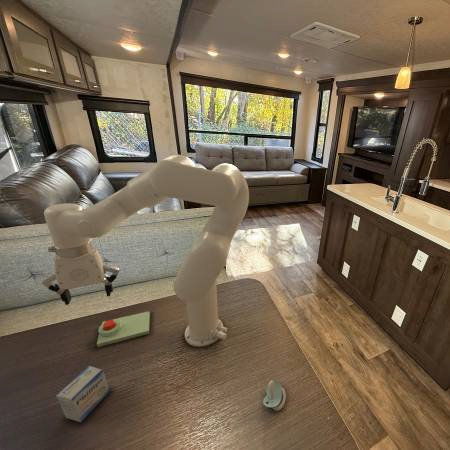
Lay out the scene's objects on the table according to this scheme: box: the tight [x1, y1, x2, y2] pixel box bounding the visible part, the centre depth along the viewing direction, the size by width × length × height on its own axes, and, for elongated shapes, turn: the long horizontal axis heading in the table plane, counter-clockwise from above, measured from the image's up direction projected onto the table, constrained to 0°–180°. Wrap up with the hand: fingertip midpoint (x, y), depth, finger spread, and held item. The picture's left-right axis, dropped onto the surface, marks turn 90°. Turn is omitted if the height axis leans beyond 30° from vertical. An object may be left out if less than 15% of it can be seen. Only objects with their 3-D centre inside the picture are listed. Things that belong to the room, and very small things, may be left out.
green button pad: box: [96, 311, 151, 348], centre depth 84 cm, size 14×10×3 cm
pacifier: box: [262, 379, 287, 411], centre depth 67 cm, size 7×6×6 cm
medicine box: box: [55, 365, 110, 423], centre depth 61 cm, size 8×4×9 cm, turn 168°
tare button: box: [103, 319, 115, 331], centre depth 82 cm, size 3×3×2 cm
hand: (89, 297), depth 75 cm, fingers open, 9 cm apart
